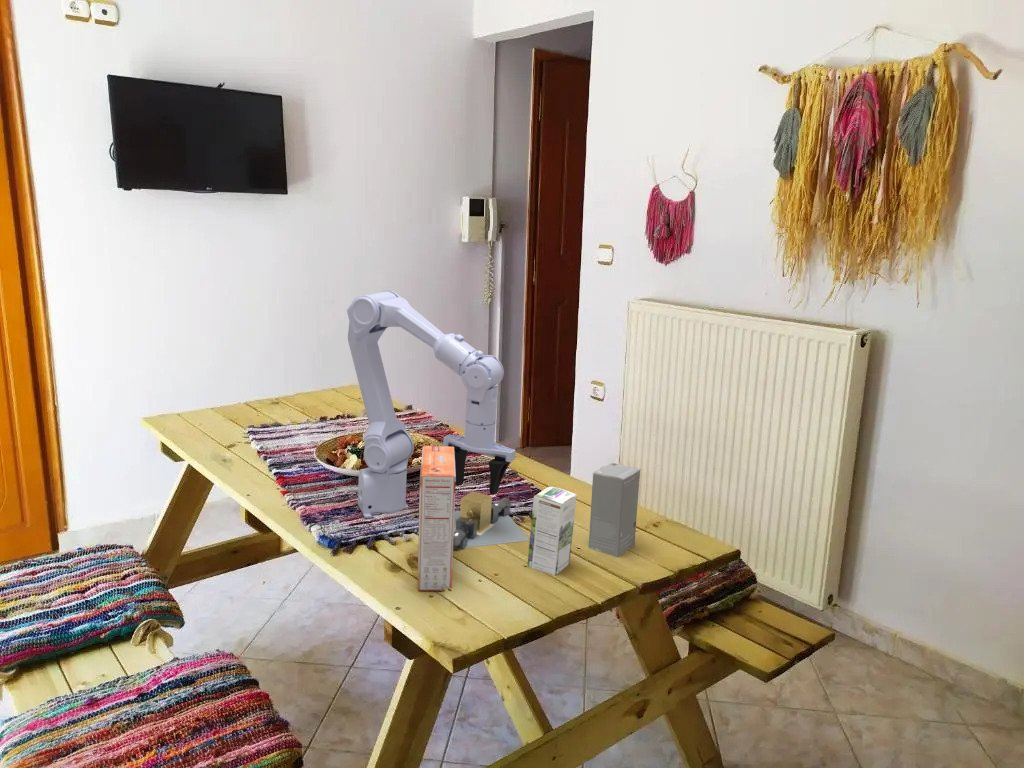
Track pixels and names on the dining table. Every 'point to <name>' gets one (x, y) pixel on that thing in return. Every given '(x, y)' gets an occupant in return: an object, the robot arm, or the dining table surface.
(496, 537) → the board
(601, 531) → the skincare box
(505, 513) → the shaft
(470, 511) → the tan block
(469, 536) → the shaft
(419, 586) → the cracker box
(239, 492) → the dining table surface
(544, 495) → the syrup box
